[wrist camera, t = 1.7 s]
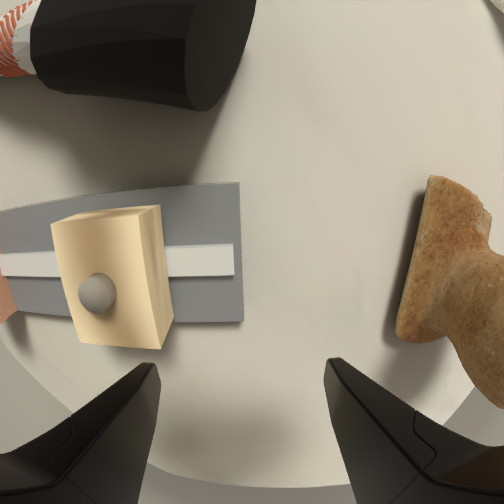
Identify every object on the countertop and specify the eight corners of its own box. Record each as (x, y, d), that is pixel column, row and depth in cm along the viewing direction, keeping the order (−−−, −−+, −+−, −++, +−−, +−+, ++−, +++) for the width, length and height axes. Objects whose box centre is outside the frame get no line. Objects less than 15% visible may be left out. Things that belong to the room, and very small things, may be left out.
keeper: (102, 314, 19) (72, 352, 14) (83, 211, 17) (38, 228, 12) (174, 316, 19) (155, 361, 14) (160, 204, 17) (129, 220, 12)
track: (9, 302, 21) (-25, 329, 15) (-11, 213, 18) (-54, 228, 12) (243, 311, 22) (244, 363, 16) (239, 182, 19) (237, 189, 13)
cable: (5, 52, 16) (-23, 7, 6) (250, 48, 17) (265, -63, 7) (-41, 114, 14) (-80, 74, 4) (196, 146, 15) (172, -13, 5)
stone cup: (457, 330, 24) (534, 410, 10) (375, 336, 23) (455, 460, 9) (494, 199, 20) (606, 238, 5) (415, 171, 19) (576, 202, 5)
